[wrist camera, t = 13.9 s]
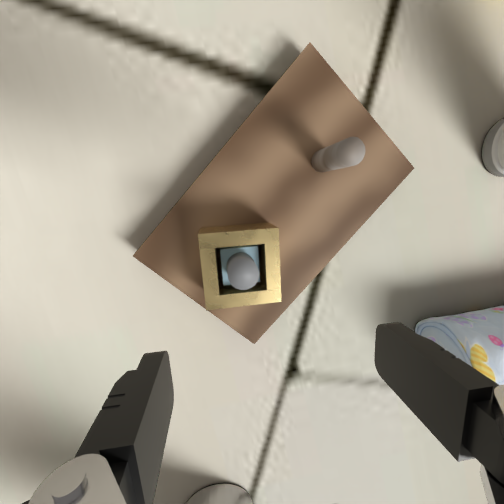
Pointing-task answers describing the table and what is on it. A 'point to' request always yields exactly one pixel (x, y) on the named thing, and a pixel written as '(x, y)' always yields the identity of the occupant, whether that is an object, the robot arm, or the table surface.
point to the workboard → (284, 187)
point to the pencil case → (471, 338)
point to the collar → (268, 264)
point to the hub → (240, 266)
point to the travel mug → (494, 149)
